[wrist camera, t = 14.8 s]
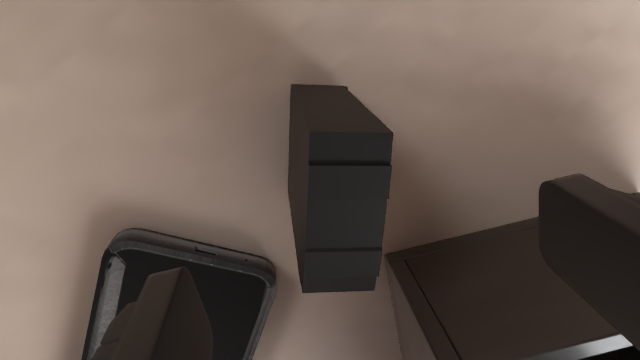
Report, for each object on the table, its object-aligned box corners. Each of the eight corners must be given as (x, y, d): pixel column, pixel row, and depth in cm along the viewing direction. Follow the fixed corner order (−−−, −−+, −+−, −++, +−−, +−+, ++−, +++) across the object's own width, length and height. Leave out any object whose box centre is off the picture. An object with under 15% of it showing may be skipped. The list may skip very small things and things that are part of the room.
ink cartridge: (336, 191, 20) (379, 299, 12) (287, 191, 19) (302, 302, 12) (344, 84, 18) (401, 135, 11) (290, 82, 18) (310, 133, 10)
